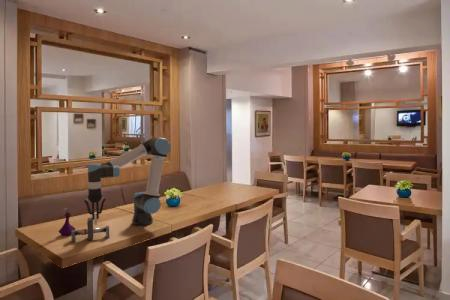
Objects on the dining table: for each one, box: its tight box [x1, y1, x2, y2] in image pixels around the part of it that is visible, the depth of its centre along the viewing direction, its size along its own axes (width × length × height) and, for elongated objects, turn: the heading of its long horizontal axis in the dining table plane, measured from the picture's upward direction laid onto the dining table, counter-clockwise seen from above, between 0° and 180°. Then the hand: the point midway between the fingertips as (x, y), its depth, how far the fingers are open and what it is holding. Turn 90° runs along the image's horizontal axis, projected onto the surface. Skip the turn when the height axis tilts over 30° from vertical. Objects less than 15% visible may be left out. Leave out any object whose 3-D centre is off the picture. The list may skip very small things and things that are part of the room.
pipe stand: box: [71, 225, 110, 243], centre depth 200 cm, size 22×5×7 cm, turn 112°
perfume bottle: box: [58, 208, 76, 237], centre depth 208 cm, size 8×8×18 cm
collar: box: [86, 217, 94, 241], centre depth 199 cm, size 3×9×12 cm, turn 22°
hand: (95, 224), depth 200 cm, fingers closed
